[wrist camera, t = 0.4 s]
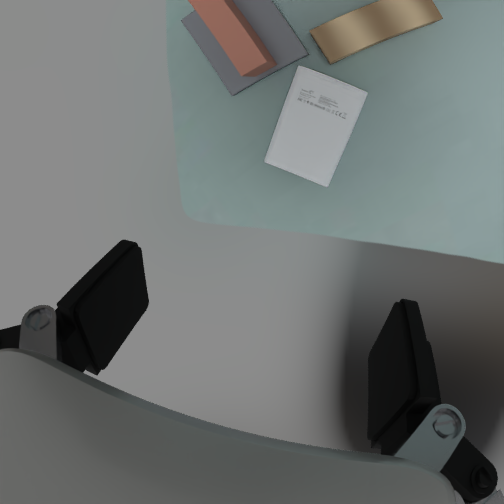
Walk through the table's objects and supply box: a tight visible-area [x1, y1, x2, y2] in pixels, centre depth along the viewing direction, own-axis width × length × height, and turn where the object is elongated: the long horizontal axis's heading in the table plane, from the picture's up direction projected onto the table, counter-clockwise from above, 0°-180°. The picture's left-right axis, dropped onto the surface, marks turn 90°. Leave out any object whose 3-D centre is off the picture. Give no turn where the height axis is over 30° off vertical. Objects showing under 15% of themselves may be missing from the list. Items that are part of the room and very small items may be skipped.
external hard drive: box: [264, 65, 368, 187], centre depth 33 cm, size 2×8×12 cm
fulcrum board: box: [181, 0, 309, 96], centre depth 26 cm, size 10×12×7 cm
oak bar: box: [310, 0, 443, 65], centre depth 23 cm, size 14×4×4 cm, turn 123°
